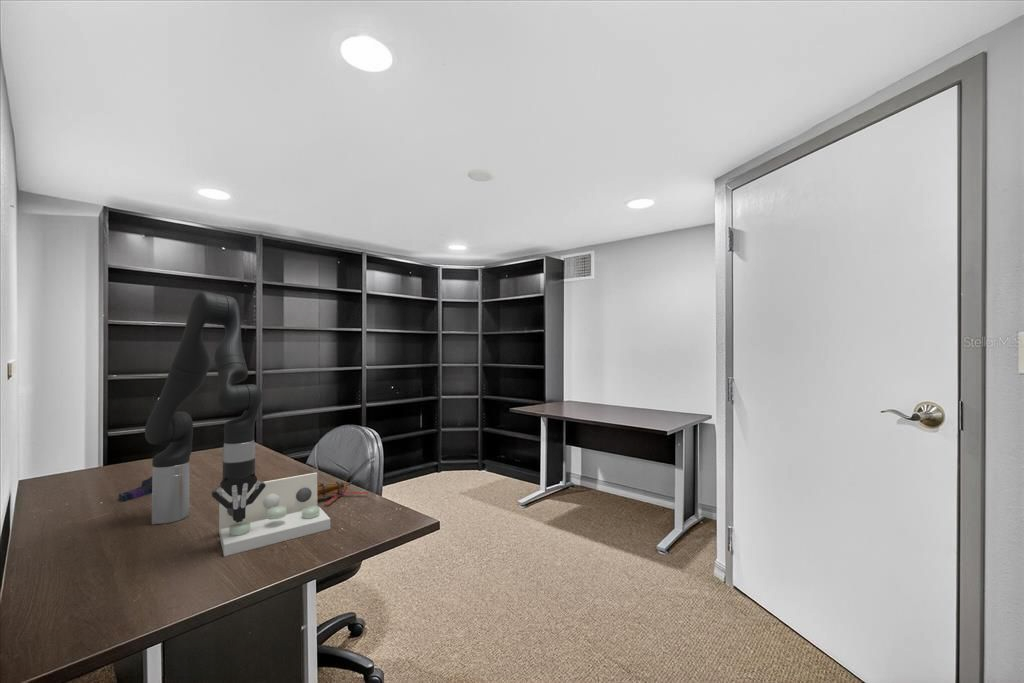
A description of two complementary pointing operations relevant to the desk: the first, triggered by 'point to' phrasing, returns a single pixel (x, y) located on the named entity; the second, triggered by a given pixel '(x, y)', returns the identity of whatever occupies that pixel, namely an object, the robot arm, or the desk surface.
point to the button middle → (276, 512)
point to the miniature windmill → (333, 490)
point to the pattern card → (275, 499)
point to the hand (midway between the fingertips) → (238, 521)
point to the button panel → (273, 532)
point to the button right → (310, 512)
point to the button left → (239, 528)
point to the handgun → (137, 491)
